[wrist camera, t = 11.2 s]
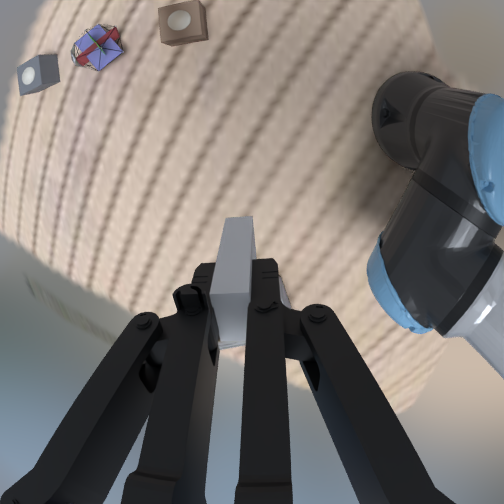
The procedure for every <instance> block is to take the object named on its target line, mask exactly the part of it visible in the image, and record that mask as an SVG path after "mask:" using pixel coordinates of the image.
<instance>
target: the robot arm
mask: <svg viewBox="0 0 504 504" xmlns="http://www.w3.org/2000/svg"><path fill="white" fill-rule="evenodd" d="M372 125H373V130H374V134H375V137H376V139H377V141H378V143H379V145H380V147H381V148H382V150H383V151H384V152H385V153H386V154H387V155H388V156H389V157H390V158H391V159H392V160H394V161H395V162H397V163H398V164H400V165H401V166H403V167H405V168H408V169H410V170H414V171H415V173H414V175H413V177H412V179H411V181H410V183H409V185H408V187H407V189H406V191H405V192H404V194H403V196H402V198H401V200H400V202H399V204H398V206H397V208H396V210H395V212H394V213H393V215H392V217H391V219H390V221H389V223H388V224H387V226H386V228H385V229H384V231H382V232H381V234H380V235H379V237H378V240H377V244H376V246H375V248H374V250H373V252H372V254H371V256H370V258H369V260H368V263H367V276H368V282H369V285H370V288H371V290H372V292H373V294H374V296H375V298H376V300H377V301H378V303H379V304H380V305H381V307H382V308H383V309H384V310H385V312H386V313H387V314H388V315H389V316H390V317H391V318H392V319H393V320H394V321H395V322H396V323H398V324H399V325H400V326H402V327H403V328H405V329H406V328H409V329H410V331H411V332H413V333H417V334H423V333H427V332H428V331H431V330H432V329H433V328H434V329H435V330H436V331H437V332H438V333H439V334H440V335H441V336H442V337H443V338H452V337H463V338H464V339H465V340H466V341H467V342H468V343H469V344H470V345H472V347H473V348H474V349H475V350H476V351H477V352H478V353H479V354H480V355H481V356H482V357H483V358H484V359H485V360H486V361H487V362H488V363H489V364H490V365H491V366H492V367H493V368H494V369H495V370H496V371H497V372H498V373H499V374H500V376H501V377H502V378H503V379H504V251H503V250H502V249H501V248H500V247H499V246H497V245H496V244H495V243H494V241H495V239H496V237H497V235H498V233H499V231H500V230H501V228H502V226H504V99H503V98H501V97H500V96H498V95H495V94H485V93H480V92H474V91H469V90H463V89H457V88H451V87H449V86H448V85H447V84H445V83H444V82H442V81H441V80H440V79H438V78H436V77H435V76H432V75H430V74H427V73H423V72H403V73H399V74H397V75H395V76H393V77H391V78H390V79H388V80H387V81H386V82H385V83H384V84H383V85H382V86H381V88H380V89H379V91H378V93H377V95H376V97H375V100H374V103H373V108H372ZM173 298H174V301H175V305H176V308H177V313H176V314H174V315H171V316H168V317H164V318H160V319H159V317H158V316H157V315H156V314H155V313H152V312H143V313H140V314H138V315H136V316H135V317H134V318H133V319H132V320H131V321H130V322H129V324H128V325H127V326H126V328H125V329H124V330H123V332H122V334H121V335H120V336H119V337H118V339H117V340H116V342H115V343H114V344H113V346H112V347H111V349H110V350H109V352H108V353H107V354H106V356H105V357H104V359H103V360H102V361H101V363H100V364H99V366H98V367H97V369H96V370H95V372H94V373H93V375H92V376H91V377H90V379H89V381H88V382H87V384H86V385H85V387H84V388H83V389H82V391H81V393H80V394H79V395H78V397H77V398H76V400H75V401H74V403H73V405H72V406H71V408H70V409H69V411H68V412H67V414H66V415H65V417H64V419H63V420H62V422H61V423H60V425H59V427H58V428H57V430H56V431H55V433H54V435H53V436H52V438H51V440H50V441H49V443H48V445H47V446H46V448H45V449H44V451H43V453H42V454H41V456H40V458H39V460H38V461H37V463H36V465H35V467H34V468H33V469H32V470H31V471H29V472H28V473H27V474H26V475H25V476H23V477H22V478H21V479H20V480H19V481H18V482H16V483H15V484H14V485H13V486H12V487H10V488H9V489H8V490H6V491H5V492H4V493H3V495H2V496H1V500H0V504H103V502H104V501H105V499H106V497H107V495H108V493H109V491H110V489H111V487H112V485H113V483H114V481H115V479H116V478H117V476H118V474H119V472H120V470H121V468H122V466H123V464H124V462H125V460H126V458H127V456H128V454H129V452H130V450H131V448H132V446H133V444H134V442H135V441H136V439H137V436H138V434H139V433H140V431H141V429H142V427H143V425H144V423H145V421H146V419H147V418H148V416H149V418H148V423H147V427H146V431H145V436H144V440H143V445H142V449H141V454H140V459H139V464H138V467H137V469H136V470H135V471H134V472H132V473H130V474H129V476H128V477H127V479H126V482H125V485H124V490H123V495H122V501H121V504H207V503H206V499H205V483H206V473H207V462H208V452H209V443H210V433H211V432H210V431H211V423H212V414H213V405H214V396H215V387H216V378H217V370H218V361H219V353H220V350H219V345H218V338H219V336H220V340H221V341H246V347H245V367H244V386H243V406H242V426H241V448H240V467H239V480H238V484H237V486H236V491H235V500H234V501H235V502H234V504H293V494H292V481H291V455H290V434H289V414H288V395H287V377H286V361H285V358H289V359H294V360H299V362H300V365H301V367H302V370H303V372H304V374H305V377H306V379H307V381H308V384H309V386H310V388H311V391H312V393H313V395H314V398H315V400H316V402H317V405H318V407H319V409H320V412H321V414H322V416H323V419H324V421H325V423H326V426H327V428H328V430H329V433H330V435H331V437H332V440H333V442H334V445H335V447H336V449H337V451H338V454H339V456H340V459H341V461H342V463H343V466H344V468H345V470H346V473H347V475H348V477H349V480H350V482H351V484H352V487H353V489H354V491H355V494H356V496H357V498H358V501H359V503H360V504H455V503H454V502H453V501H452V500H450V499H449V498H448V497H447V496H445V495H444V494H443V493H441V492H440V491H439V490H438V489H437V488H435V486H434V484H433V482H432V480H431V479H430V477H429V475H428V473H427V471H426V469H425V467H424V465H423V463H422V461H421V460H420V458H419V456H418V454H417V452H416V451H415V449H414V447H413V445H412V443H411V441H410V439H409V438H408V436H407V434H406V432H405V430H404V429H403V427H402V425H401V423H400V422H399V420H398V418H397V416H396V414H395V413H394V411H393V409H392V407H391V406H390V404H389V402H388V401H387V399H386V397H385V395H384V394H383V392H382V390H381V388H380V387H379V385H378V383H377V382H376V380H375V378H374V377H373V375H372V373H371V372H370V370H369V368H368V367H367V365H366V363H365V362H364V360H363V358H362V357H361V355H360V353H359V352H358V350H357V348H356V347H355V345H354V343H353V342H352V340H351V338H350V337H349V335H348V334H347V332H346V330H345V329H344V327H343V325H342V324H341V322H340V321H339V319H338V317H337V316H336V314H335V313H334V311H333V310H332V309H331V308H330V307H328V306H326V305H322V304H312V305H309V306H307V307H305V308H304V309H303V310H302V311H297V310H293V309H290V308H288V307H286V306H285V305H284V304H283V303H282V301H281V298H280V285H279V274H278V264H277V263H276V261H275V260H274V259H273V258H268V259H256V247H255V237H254V227H253V217H252V216H245V217H232V218H226V219H225V224H224V228H223V233H222V237H221V242H220V246H219V251H218V255H217V260H216V263H201V264H200V265H199V266H198V267H197V268H196V269H195V272H194V275H193V279H192V284H186V285H183V286H181V287H179V288H178V289H176V290H175V291H174V293H173Z"/></svg>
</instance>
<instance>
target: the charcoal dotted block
mask: <svg viewBox="0 0 504 504" xmlns="http://www.w3.org/2000/svg"><path fill="white" fill-rule="evenodd" d="M17 74H18V83H19V91H20V96H22V95H27V94H31V93H36V92H40V91H42V90H44V89H46V88H48V87H50V86H52V85H54V84H56V83H59V82H60V76H59V68H58V58H57V54H55V55H38V56H36V57H34V58H32V59H31V60H29V61H27V62H25V63H24V64H22V65H20V66H19V67H17Z"/></svg>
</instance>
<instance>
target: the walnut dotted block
mask: <svg viewBox="0 0 504 504" xmlns="http://www.w3.org/2000/svg"><path fill="white" fill-rule="evenodd" d="M158 14H159V26H160V36H161V43H164V44H167V45H170V46H176V45H181V44H187V43H192V42H198V41H204V40H208V32H207V22H206V12H205V8H204V6H203V5H202V4H201V2H200V1H199V0H193V1H188V2H183V3H178V4H174V5H169V6H165V7H161V8H158Z"/></svg>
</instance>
